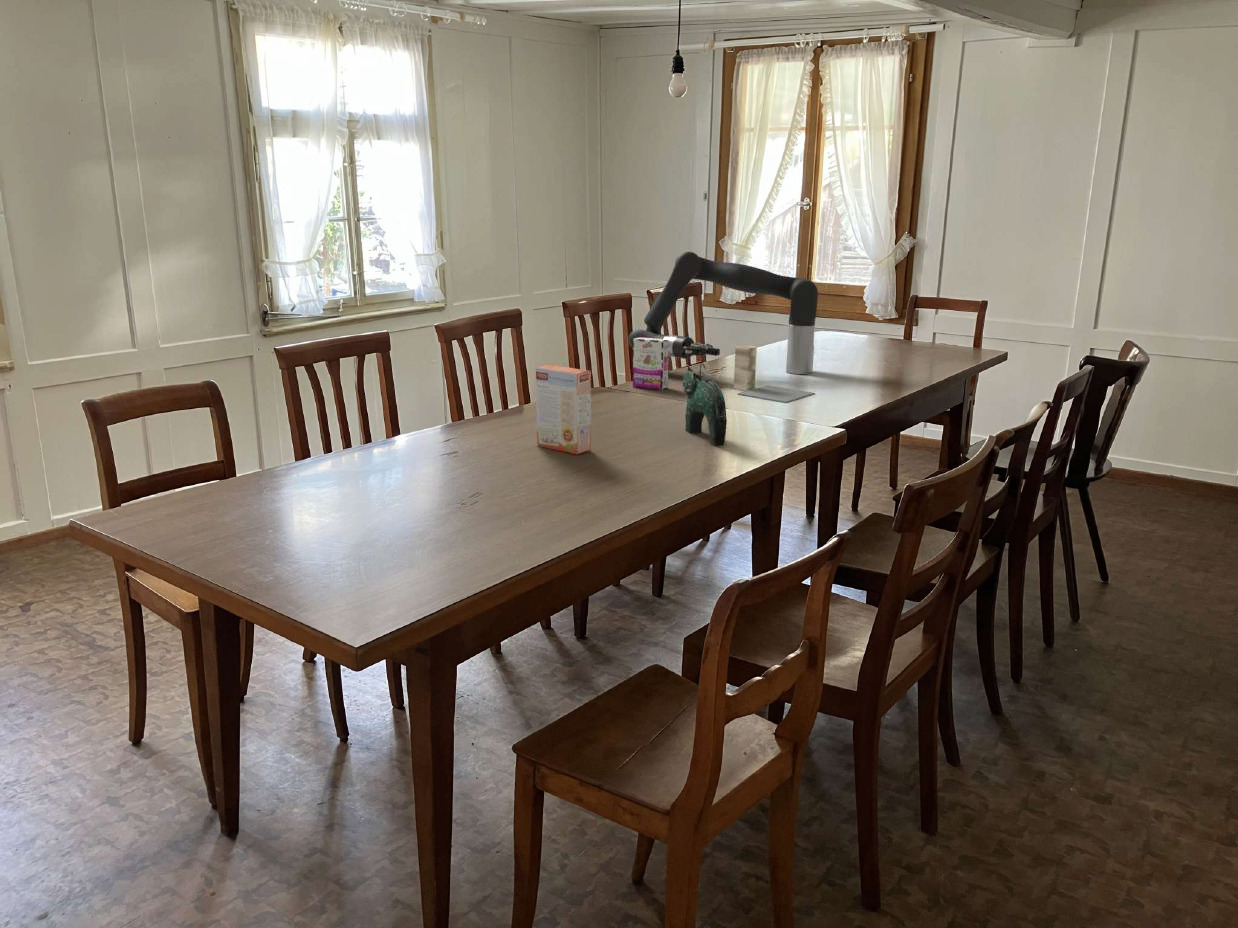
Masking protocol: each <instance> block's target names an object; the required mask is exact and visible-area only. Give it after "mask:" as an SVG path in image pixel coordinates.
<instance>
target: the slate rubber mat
mask: <svg viewBox="0 0 1238 928" xmlns="http://www.w3.org/2000/svg"><path fill="white" fill-rule="evenodd" d="M812 395H816V392H814V391H813V392H812V391H807V390H800V389H793V388H788V387H783V386H778V385H777V386H776V385H769V384H767V385H764V386H759V387H755V389H752V390H748V391H741V392H738V393H737V396H745V397H749V398H756V399H761V400H767V401H771V402H777V403H778V402H779V403H783V404H787V403H790V402H793V401H796V400H799V399H803V398H805V397H809V396H812Z"/></svg>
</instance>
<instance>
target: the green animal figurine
mask: <svg viewBox="0 0 1238 928" xmlns="http://www.w3.org/2000/svg"><path fill="white" fill-rule="evenodd" d="M702 366H703V368H704V370H706V369H707V367H706V364H705V363H703V362H701V363H700V365H699V370H693V368H692V367H690V366H688V368H687V371H686V372H685V373H684V374H683V377H682V391H683V392H684V393H685V395H687V401H686V405H685V406H686V408H685V427H684V428H685V432H687V433H689V434H698V433H702V431H703V429H702V428H703V420H704V417H705V418H706V420H707V423H708V424H707V425H708V432H709V441H710V445H711V446H713V445H714V446H713V447H719V446H720V445H722V446H725V444H726V443H725V442H726V441H725V439H726V434H727V424H728V423H727V422H728V420H727V407H726V401H725V397H724V393H723V390H721V387H720V386H719V384H717V383H716V382H715V381H714V380H713V379H710V378H707V376H706V374H705V372H704V371H702Z"/></svg>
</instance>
